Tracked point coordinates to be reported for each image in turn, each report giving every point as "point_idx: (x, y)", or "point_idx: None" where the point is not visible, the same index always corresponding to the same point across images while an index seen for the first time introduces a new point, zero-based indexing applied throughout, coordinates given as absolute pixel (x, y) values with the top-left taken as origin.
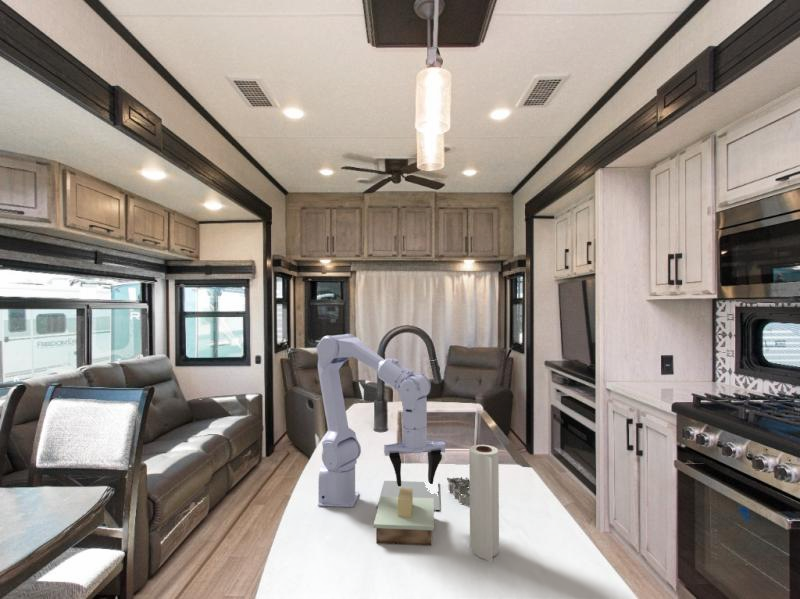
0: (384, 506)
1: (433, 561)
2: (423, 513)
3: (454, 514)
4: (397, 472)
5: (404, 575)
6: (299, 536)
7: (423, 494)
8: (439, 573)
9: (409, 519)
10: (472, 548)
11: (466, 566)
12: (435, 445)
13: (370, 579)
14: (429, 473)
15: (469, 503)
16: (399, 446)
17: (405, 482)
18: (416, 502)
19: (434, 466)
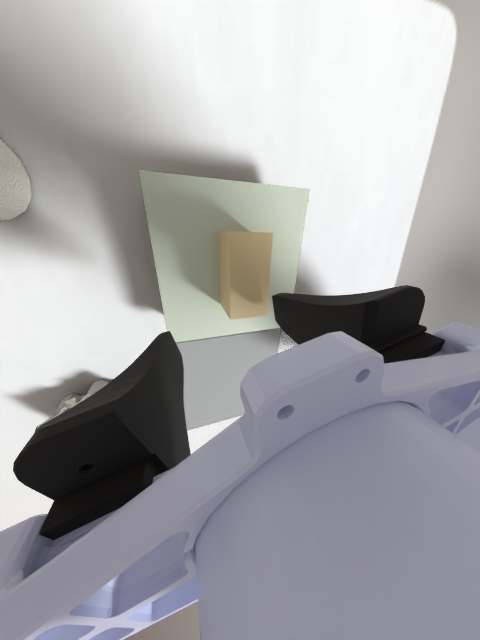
0: (283, 283)
1: (136, 108)
2: (185, 258)
3: (123, 339)
4: (318, 297)
5: (207, 33)
6: (390, 225)
7: (202, 388)
8: (102, 24)
9: (221, 219)
10: (4, 146)
11: (12, 59)
12: (47, 623)
13: (287, 27)
14: (174, 364)
15: (92, 384)
16: (435, 417)
17: (237, 413)
18: (211, 314)
19: (132, 373)
